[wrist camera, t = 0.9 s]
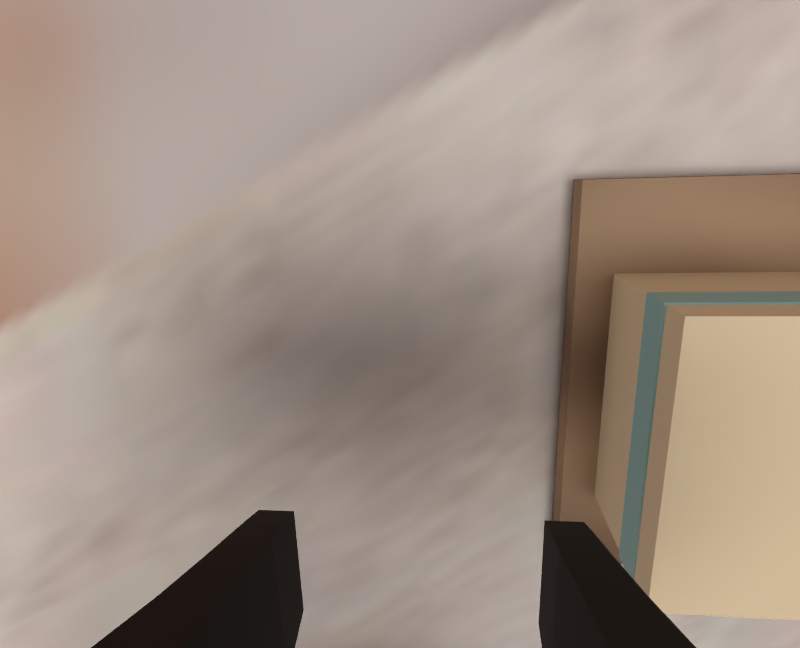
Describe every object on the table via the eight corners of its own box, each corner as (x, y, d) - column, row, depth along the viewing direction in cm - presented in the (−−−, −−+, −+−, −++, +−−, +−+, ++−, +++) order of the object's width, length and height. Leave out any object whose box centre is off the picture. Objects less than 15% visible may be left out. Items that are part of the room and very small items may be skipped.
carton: (838, 504, 15) (988, 632, 11) (592, 496, 16) (644, 614, 12) (894, 268, 13) (1102, 312, 9) (612, 271, 14) (682, 314, 10)
